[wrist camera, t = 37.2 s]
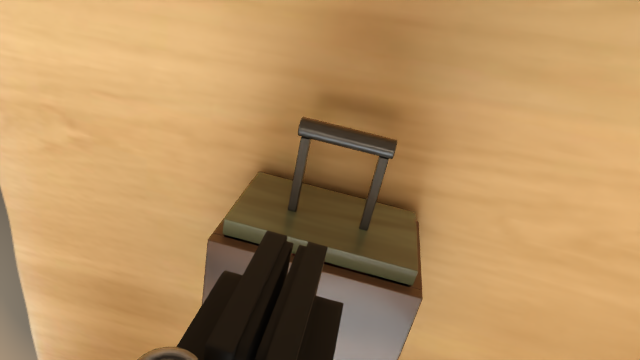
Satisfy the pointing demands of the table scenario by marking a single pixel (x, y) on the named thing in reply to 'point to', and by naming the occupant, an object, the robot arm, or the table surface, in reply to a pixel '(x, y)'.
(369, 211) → the drawer
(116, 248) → the table surface
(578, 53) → the table surface
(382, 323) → the cabinet
